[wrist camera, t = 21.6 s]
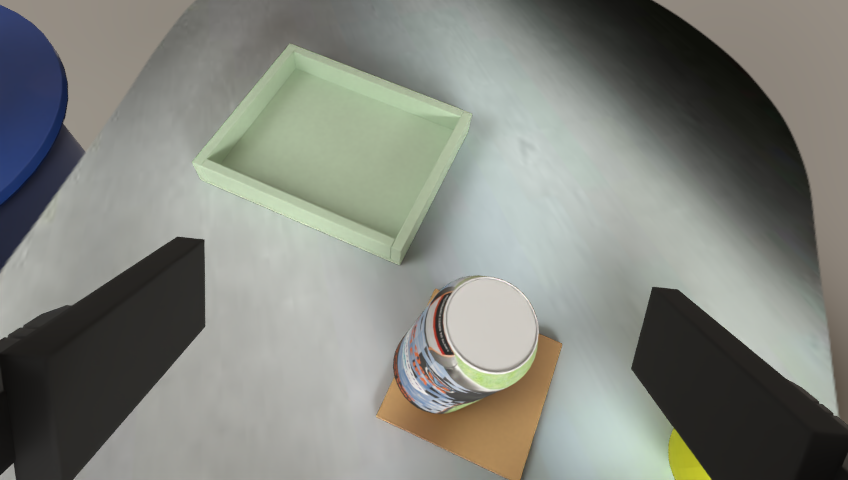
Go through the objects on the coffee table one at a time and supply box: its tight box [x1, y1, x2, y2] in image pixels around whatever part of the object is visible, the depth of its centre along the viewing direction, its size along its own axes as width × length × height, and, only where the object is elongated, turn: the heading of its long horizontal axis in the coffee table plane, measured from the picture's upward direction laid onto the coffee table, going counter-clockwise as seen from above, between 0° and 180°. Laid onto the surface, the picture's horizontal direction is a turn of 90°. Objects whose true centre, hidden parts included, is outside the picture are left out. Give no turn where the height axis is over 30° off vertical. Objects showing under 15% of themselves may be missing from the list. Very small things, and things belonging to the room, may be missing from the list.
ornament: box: [668, 429, 711, 480], centre depth 30 cm, size 7×7×10 cm
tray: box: [192, 44, 472, 265], centre depth 43 cm, size 18×15×2 cm
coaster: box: [376, 289, 562, 480], centre depth 36 cm, size 10×10×1 cm
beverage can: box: [393, 276, 539, 414], centre depth 31 cm, size 6×7×12 cm
